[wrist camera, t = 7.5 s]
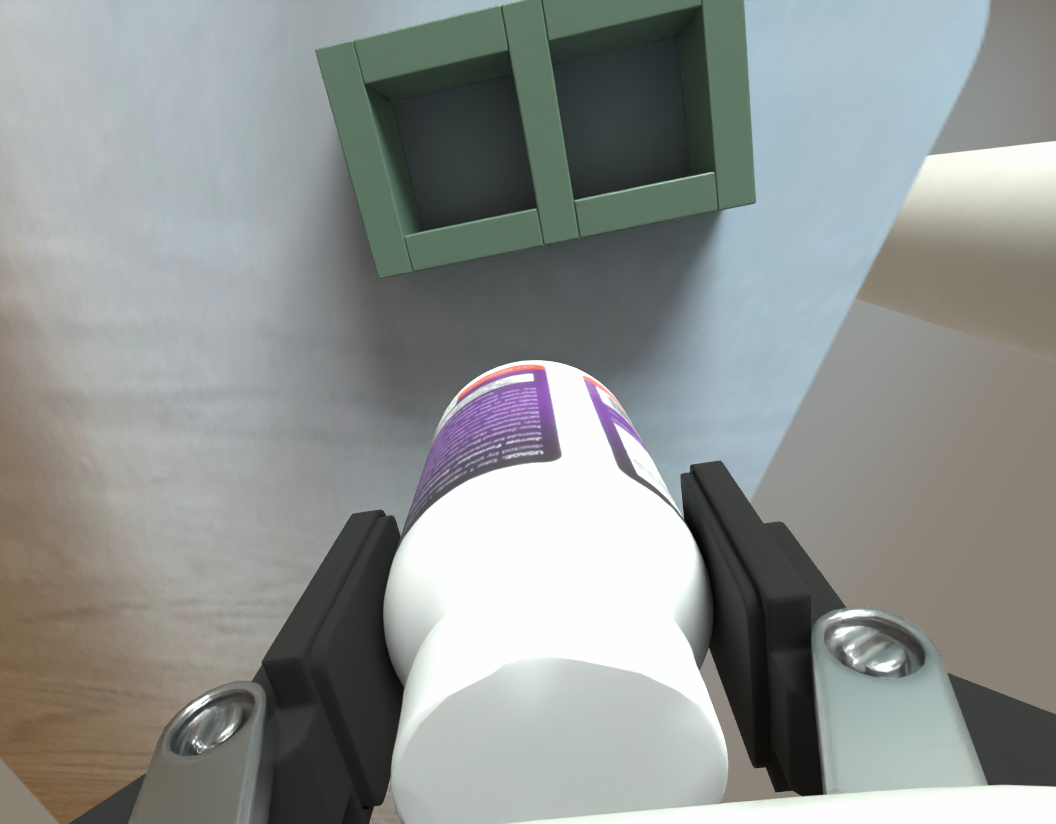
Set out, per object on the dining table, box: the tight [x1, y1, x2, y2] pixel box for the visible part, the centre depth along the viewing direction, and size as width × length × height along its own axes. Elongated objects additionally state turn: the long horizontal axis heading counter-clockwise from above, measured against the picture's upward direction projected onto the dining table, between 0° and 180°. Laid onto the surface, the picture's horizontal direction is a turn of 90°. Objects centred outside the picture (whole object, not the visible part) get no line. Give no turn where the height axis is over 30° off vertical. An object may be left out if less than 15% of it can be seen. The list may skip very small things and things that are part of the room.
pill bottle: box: [383, 361, 728, 824], centre depth 11 cm, size 5×5×10 cm
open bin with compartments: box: [315, 0, 756, 279], centre depth 26 cm, size 17×9×4 cm, turn 101°
